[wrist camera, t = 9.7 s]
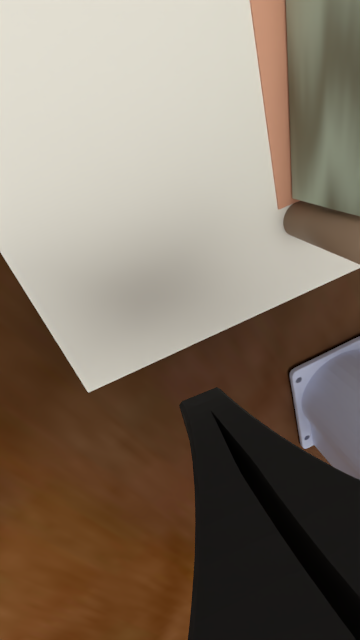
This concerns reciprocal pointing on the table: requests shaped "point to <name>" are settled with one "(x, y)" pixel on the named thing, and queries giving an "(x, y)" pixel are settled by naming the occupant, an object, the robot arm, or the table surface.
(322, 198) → the fence panel
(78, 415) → the table surface
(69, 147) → the card
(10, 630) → the table surface
